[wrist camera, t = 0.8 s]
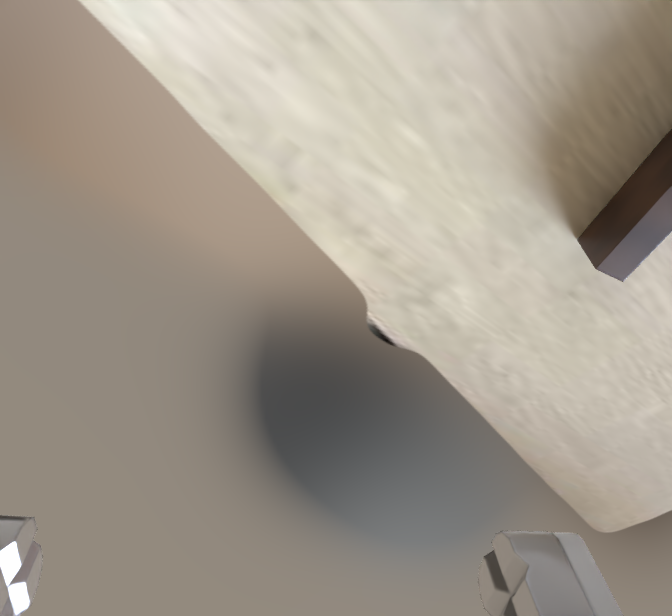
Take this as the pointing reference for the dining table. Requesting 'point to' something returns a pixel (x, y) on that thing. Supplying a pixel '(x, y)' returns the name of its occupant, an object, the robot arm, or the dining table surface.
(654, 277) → the dining table surface
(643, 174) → the wall
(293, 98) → the dining table surface
